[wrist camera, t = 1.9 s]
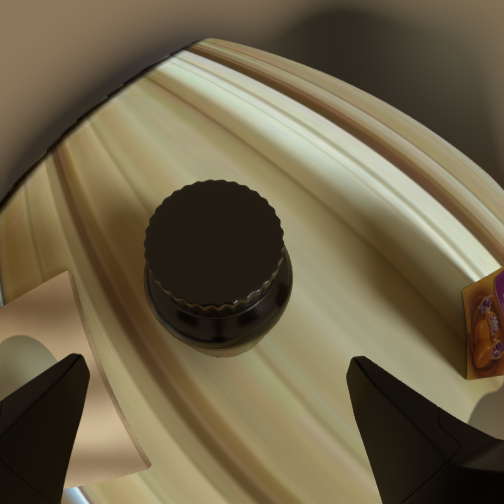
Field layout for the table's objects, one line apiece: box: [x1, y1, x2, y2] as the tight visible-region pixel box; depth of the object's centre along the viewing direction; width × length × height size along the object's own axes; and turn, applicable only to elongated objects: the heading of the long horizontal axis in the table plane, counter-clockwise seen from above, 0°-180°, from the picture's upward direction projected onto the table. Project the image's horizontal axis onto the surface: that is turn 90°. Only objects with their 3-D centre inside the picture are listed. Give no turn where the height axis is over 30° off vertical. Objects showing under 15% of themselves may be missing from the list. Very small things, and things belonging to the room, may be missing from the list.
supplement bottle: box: [144, 180, 293, 357], centre depth 15 cm, size 7×7×12 cm
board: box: [0, 271, 151, 489], centre depth 15 cm, size 16×16×1 cm
